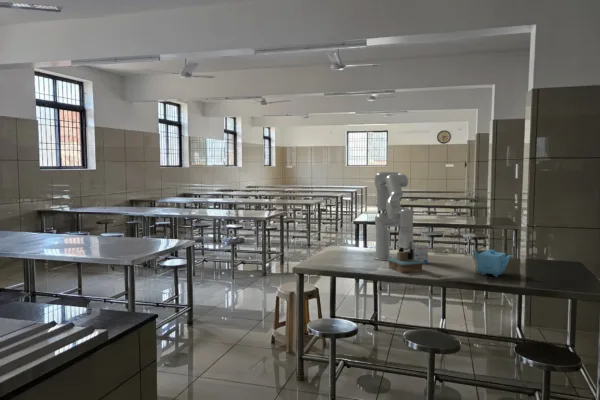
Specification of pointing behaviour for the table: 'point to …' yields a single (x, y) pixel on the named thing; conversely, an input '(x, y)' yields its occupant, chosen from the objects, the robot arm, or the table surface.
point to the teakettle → (491, 262)
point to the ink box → (421, 253)
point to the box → (405, 267)
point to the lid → (404, 259)
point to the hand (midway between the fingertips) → (405, 257)
